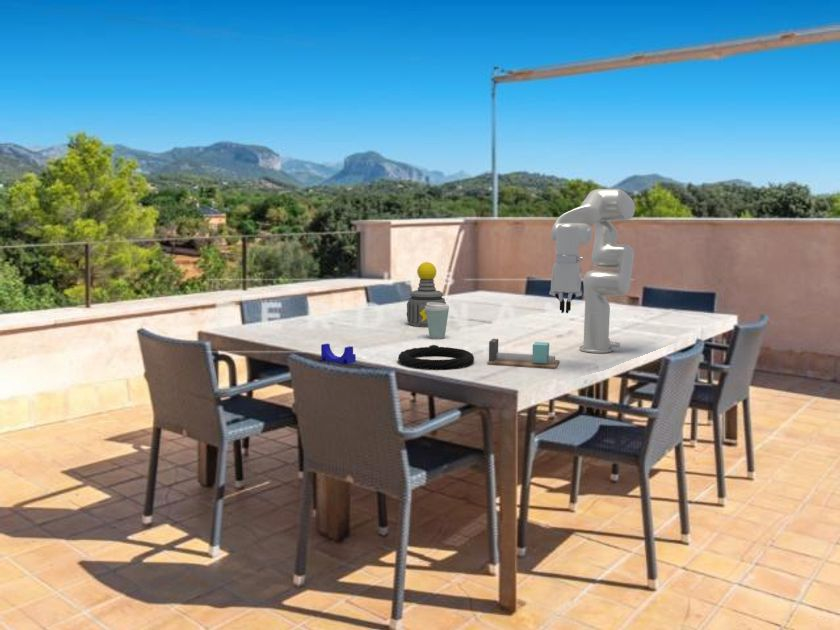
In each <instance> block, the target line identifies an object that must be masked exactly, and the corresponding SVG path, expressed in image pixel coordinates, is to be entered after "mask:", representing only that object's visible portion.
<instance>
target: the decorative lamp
mask: <svg viewBox="0 0 840 630" xmlns="http://www.w3.org/2000/svg"><path fill="white" fill-rule="evenodd" d="M417 275H418V276H417V277H418V278H419V282H418V287H417V289H416V290H414V291H410V296H411V297H409V298H408V301H407V303H406V321H407V322H408V325H409V326H411V327H416V328H428V322H427V315H426V309H425V306H426V303H429V302H436V303H444V304H447V302H446V300H445V298H444V297H443V296H444V293H443V292H442V291H440V290H437V288H436V287H435V286H436V284H435V283H434V282H435V279H434V278H435V277H436V276H437V269H436V266H435V265H434V264H433V263H431V262H428V261H424V262H422V263H420V265H419V266H418V268H417Z"/></svg>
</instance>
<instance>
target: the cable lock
mask: <svg viewBox="0 0 840 630" xmlns="http://www.w3.org/2000/svg"><path fill="white" fill-rule="evenodd" d="M420 357H449V358H451V359H430V358H429V359H426V358H420ZM397 359H398V362H399V363H400V364H401V365H404V366H405V367H409V368H413V369H420V370H453V369H462V368H465V367H469V366H471V364H473V363H474V362H475V356H474V354H473V352H472V353H471V352H470V351H468V350H465V349H462V348H457V347H456V348H455V347H447V346H446V347H444V346H439V345H436V344H432V345H429V346H425V347H422V346H421V347H413V348H410V349H409V348H408V349H406V350H403V351H401V352H400V353H399V354H398V357H397Z"/></svg>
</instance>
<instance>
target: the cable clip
mask: <svg viewBox="0 0 840 630" xmlns="http://www.w3.org/2000/svg"><path fill="white" fill-rule="evenodd" d="M320 348H321V350H320V353H321V354H320V355H321V356H320V358H321V361H322V362H323V361H324V362H331V363H339V364H344V365H345V364H346V365H350V364H353V363H356V362H357V361H356V360H357V359H356V356H357V355H356V353H354V346H353V345H352V346H345V347H344V350H343V354H342V355H341V356H337V355H336V354H334V352H333V351H332V349H331V345H330V343H328V342H327V343H322V344H321V346H320Z"/></svg>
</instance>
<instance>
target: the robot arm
mask: <svg viewBox="0 0 840 630" xmlns="http://www.w3.org/2000/svg"><path fill="white" fill-rule="evenodd" d="M635 205H636V204H635V202H634V199H632V197H631V196H630V195H628V193H627V192H626V191H624V190H622V189H619V188H595V189H593V190H591V191H590V192H589V193H588V194H587V196H586V197H585V198H584V200H583V202H582V203H581V204H580V205H579V206H578V207H575V208H573V209H571V210H568V211H567V212H565V213H563V214H561V215H560V216H559V217H557V219H556V220H555V222H554V224H553V225H552V227H551V230H550V237H551V240H552V242H553V243H555V244H556V246H555V262H554V263H553V265H552V269H551V270H552V271H551V280H550V290H549V292H548V293H549V296H553V297H555V298H556V299H557V300H558V301H559V311H560V313H561V314H564V313H566V314H568V313H569V312H570V311H571V305H572V301H573V300H574V299H575V298H578V297H582V295H583V292H584V321H583V323H584V325H583V344H582V345H580V346H579V350H580V351H582V352H586V353H591V354H606V353H611V352H612V351H613V348H621V342H618V341H611V339H610V338H609V335H610V319H611V318H610V317H611V315H610V314H611V313H610V312H611V307H610V303H609V301H608V300H607V298H606V296H612V297H613V296H616V297H621V296H622V297H623V296H625V295H627V294H628V293H629V290H630V287H631V281H632V280H631V279H632V273H633V268H634V261H635V254H634V249H633V248H632V246H631V245H628V244H624V243H623V244H622V243H621V244H618V243H617V242H618V233H619V232H618V231H617V229H616V227H615V226H614V225H613V223H612V222H611V221H627V220H628V221H629V220H630V219H632V218H633V217H634V215H635V211H636V206H635ZM591 226H594V231H595V233H594V232H593V229H592V227H591ZM593 233H594V235H593ZM593 236H594V242H593V248H592V253H591V264H592V265H593V266H594V267H596V268H600V269H593V270H589V271H587V272H586V273H585V274H584V276H583V291H582V268H581V264H580V263H579V262H580V261H581V262H582V261H583V256H580V255H579V246H582V245H583V246H584V245H587V244H589V243H590V242H591V241H592V239H593ZM605 269H606V270H605ZM607 269H613V270H607ZM564 293H565V294H567V293H568V295H567V299H566V302H565V298H564Z"/></svg>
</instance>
